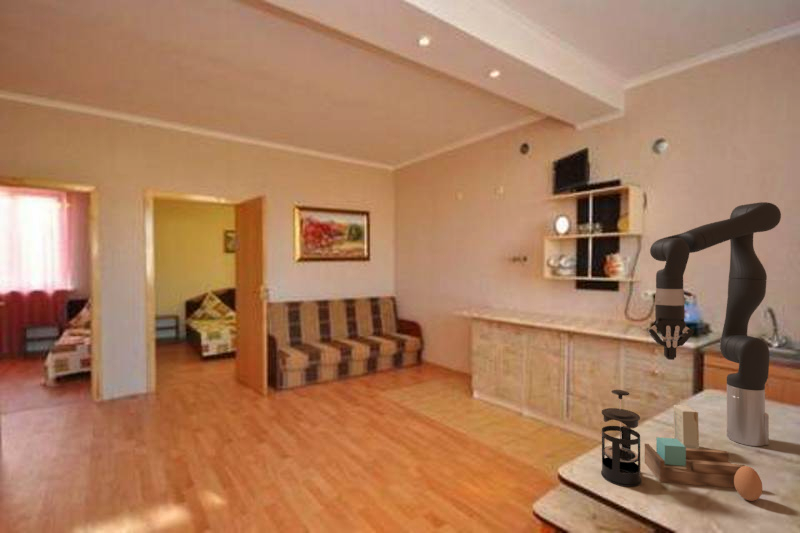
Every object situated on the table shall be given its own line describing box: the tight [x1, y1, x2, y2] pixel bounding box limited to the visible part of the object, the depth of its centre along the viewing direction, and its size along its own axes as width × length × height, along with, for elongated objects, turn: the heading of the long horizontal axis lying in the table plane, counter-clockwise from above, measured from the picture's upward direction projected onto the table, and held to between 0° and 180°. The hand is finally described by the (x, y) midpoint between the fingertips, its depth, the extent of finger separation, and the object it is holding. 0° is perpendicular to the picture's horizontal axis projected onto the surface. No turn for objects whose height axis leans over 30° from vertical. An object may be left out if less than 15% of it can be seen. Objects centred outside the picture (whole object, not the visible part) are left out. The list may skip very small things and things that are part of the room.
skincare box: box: [673, 404, 700, 449], centre depth 123 cm, size 6×4×12 cm
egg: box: [734, 465, 763, 502], centre depth 96 cm, size 5×5×8 cm
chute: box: [644, 443, 746, 489], centre depth 108 cm, size 20×10×6 cm, turn 79°
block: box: [655, 436, 686, 466], centre depth 109 cm, size 5×5×5 cm
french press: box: [600, 389, 642, 488], centre depth 107 cm, size 12×9×23 cm
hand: (670, 359), depth 124 cm, fingers closed
